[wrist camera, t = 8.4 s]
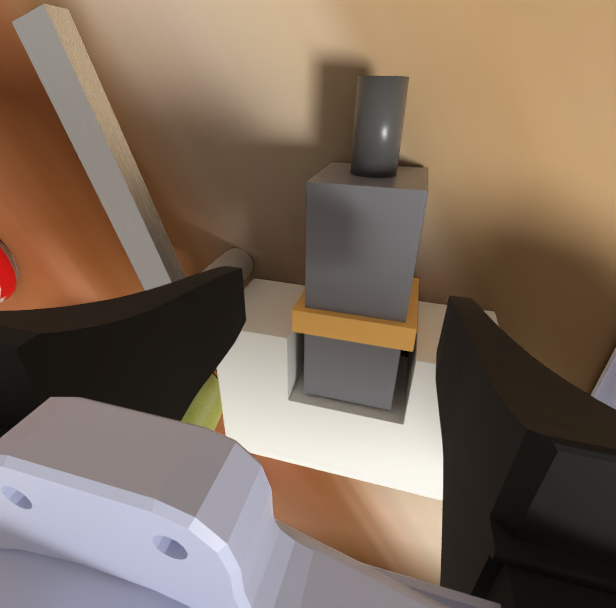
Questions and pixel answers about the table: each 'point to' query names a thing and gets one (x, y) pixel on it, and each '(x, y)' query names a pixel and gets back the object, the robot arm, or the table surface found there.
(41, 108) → the table surface
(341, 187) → the plug
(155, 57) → the table surface
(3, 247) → the beer can
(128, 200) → the flat metal lever
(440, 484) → the socket block
